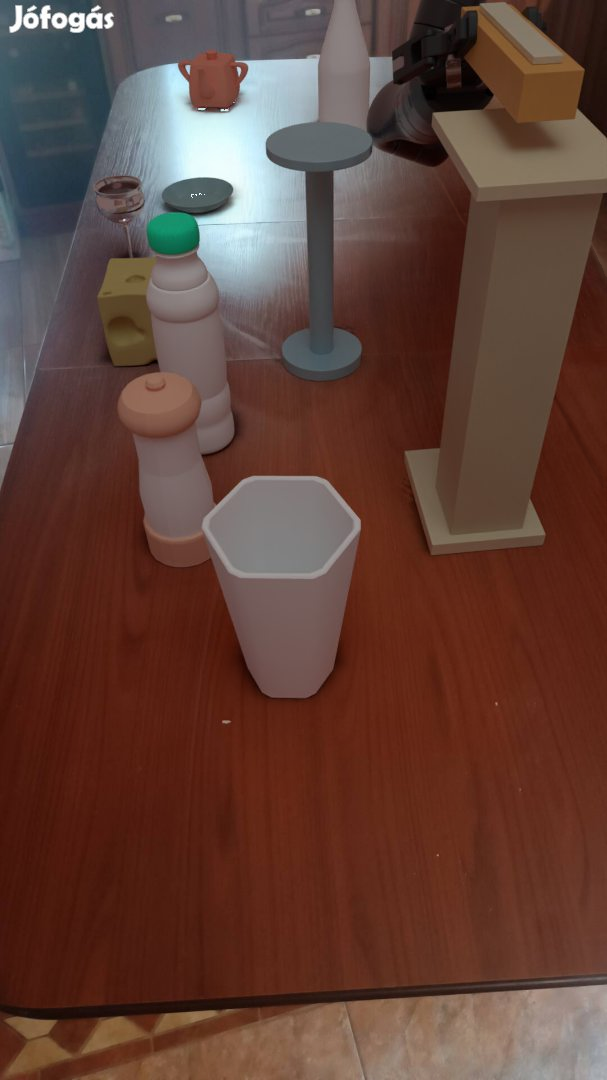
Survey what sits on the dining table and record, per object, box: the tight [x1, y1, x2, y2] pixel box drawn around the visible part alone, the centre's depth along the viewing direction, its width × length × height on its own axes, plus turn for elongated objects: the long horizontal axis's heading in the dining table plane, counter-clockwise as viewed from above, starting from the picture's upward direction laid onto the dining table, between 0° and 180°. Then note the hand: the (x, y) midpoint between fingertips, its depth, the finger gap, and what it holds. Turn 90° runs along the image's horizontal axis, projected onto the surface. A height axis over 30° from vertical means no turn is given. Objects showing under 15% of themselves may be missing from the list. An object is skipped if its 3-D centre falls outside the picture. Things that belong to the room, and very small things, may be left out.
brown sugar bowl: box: [177, 49, 249, 110], centre depth 163 cm, size 14×12×10 cm
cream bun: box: [461, 1, 586, 123], centre depth 58 cm, size 17×4×4 cm, turn 6°
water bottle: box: [146, 211, 235, 456], centre depth 81 cm, size 7×7×25 cm
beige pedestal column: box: [403, 107, 607, 556], centre depth 69 cm, size 14×11×35 cm
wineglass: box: [92, 174, 146, 258], centre depth 115 cm, size 7×7×12 cm
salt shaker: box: [116, 371, 218, 568], centre depth 72 cm, size 7×7×19 cm
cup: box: [201, 475, 362, 699], centre depth 62 cm, size 11×10×17 cm
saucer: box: [161, 176, 234, 214], centre depth 132 cm, size 12×12×2 cm
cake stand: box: [265, 121, 374, 382], centre depth 91 cm, size 11×11×26 cm
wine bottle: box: [317, 0, 371, 132], centre depth 143 cm, size 10×10×30 cm
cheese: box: [96, 256, 158, 367], centre depth 100 cm, size 10×11×10 cm
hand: (503, 23), depth 60 cm, fingers closed on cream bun, 4 cm apart
